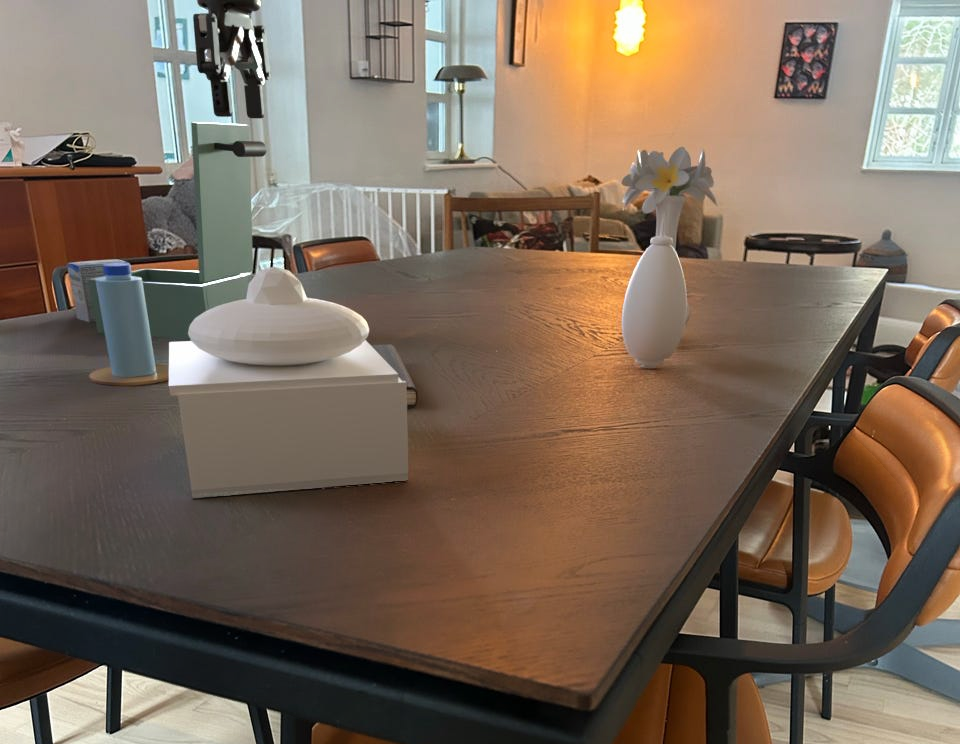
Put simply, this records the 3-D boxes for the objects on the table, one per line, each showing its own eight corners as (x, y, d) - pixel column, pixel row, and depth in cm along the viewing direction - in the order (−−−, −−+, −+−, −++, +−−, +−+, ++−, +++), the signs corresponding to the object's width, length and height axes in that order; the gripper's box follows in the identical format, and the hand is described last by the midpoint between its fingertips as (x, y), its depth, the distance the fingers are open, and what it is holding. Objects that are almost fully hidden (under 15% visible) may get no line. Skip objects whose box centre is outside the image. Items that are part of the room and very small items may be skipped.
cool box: (98, 338, 129) (87, 279, 125) (152, 322, 140) (144, 268, 137) (209, 346, 125) (202, 285, 121) (256, 329, 136) (251, 274, 133)
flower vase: (675, 325, 145) (695, 147, 133) (714, 347, 129) (741, 147, 117) (595, 325, 144) (608, 145, 132) (625, 348, 128) (642, 145, 116)
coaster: (74, 384, 105) (73, 380, 104) (112, 365, 113) (112, 362, 113) (158, 387, 104) (157, 383, 104) (190, 368, 113) (190, 365, 112)
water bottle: (104, 376, 107) (84, 266, 101) (123, 367, 111) (105, 261, 105) (145, 378, 106) (128, 267, 100) (162, 368, 111) (146, 262, 105)
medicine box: (126, 317, 144) (116, 258, 139) (139, 321, 141) (130, 261, 137) (77, 323, 139) (65, 262, 135) (89, 327, 136) (78, 265, 132)
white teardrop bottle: (635, 358, 122) (649, 210, 113) (689, 366, 118) (708, 213, 109) (607, 367, 116) (619, 212, 108) (663, 376, 112) (680, 216, 104)
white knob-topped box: (408, 481, 76) (403, 278, 69) (185, 499, 72) (153, 285, 64) (370, 425, 91) (362, 254, 83) (183, 438, 86) (156, 257, 79)
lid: (190, 121, 112) (229, 126, 111) (244, 124, 123) (279, 128, 122) (199, 281, 121) (234, 287, 120) (248, 270, 133) (280, 275, 132)
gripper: (226, -28, 116) (240, 118, 123) (164, -49, 104) (184, 115, 111) (280, -30, 114) (291, 119, 122) (223, -51, 102) (239, 116, 110)
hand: (240, 117), depth 117 cm, fingers open, 8 cm apart
